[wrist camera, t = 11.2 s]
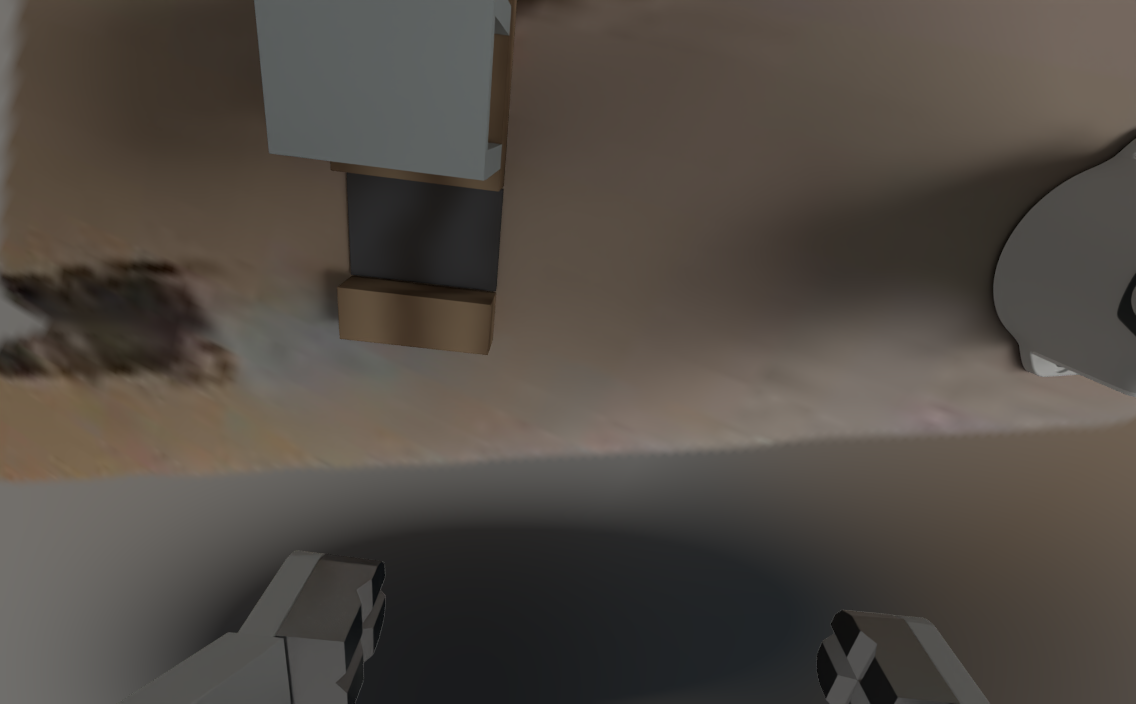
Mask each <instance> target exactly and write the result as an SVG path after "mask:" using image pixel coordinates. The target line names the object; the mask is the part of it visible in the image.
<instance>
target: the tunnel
mask: <svg viewBox="0 0 1136 704" xmlns="http://www.w3.org/2000/svg"><path fill="white" fill-rule="evenodd" d="M254 3H255V14H256V24H257V34H258V44H259V55H260V65H261V75H262V86H263V96H264V106H265V117H266V127H267V137H268V148H269V153H270V154H278V155H286V156H294V157H302V158H310V159H318V160H325V161H333V162H341V163H349V164H357V165H365V166H373V167H380V168H388V169H396V170H404V171H412V172H420V173H427V174H435V175H443V176H451V177H459V178H467V179H475V180H482V181H484V180H486V179H488V178H489V177H490V176H492V175H493V174H494V173H495V172H497V171H498V170H499V169H500V165H501V151H502V144H495V143H488V133H489V116H490V98H491V81H492V64H493V47H494V34H501V35H508V36H509V33H510V19H511V5H510V3H509V1H508V0H254Z"/></svg>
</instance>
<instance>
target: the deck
mask: <svg viewBox="0 0 1136 704" xmlns="http://www.w3.org/2000/svg"><path fill="white" fill-rule="evenodd" d="M508 1H509V3H510V5H511V19H510V33H509V36H508V35H501V34H494V47H493V64H492V81H491V98H490V116H489V133H488V143H495V144H502V151H501V165H500V169H499V170H498V171H497V172H495V173H494V174H493V175H492V176H490V177H489V178H488V179H486V180H484V181H482V180H475V179H467V178H459V177H451V176H443V175H435V174H427V173H420V172H412V171H404V170H396V169H388V168H380V167H373V166H365V165H357V164H349V163H341V162H333V161H330V164H331V170H332V171H340V172H347V192H348V215H349V239H350V263H351V274H352V275H360V276H369V277H378V278H386V279H395V280H403V281H412V282H420V283H429V284H437V285H446V286H455V287H463V288H472V289H480V290H489V291H496V286H497V272H498V258H499V244H500V230H501V216H502V202H503V189H502V187H503V186H504V174H505V160H506V146H507V132H508V118H509V104H510V90H511V76H512V62H513V48H514V34H515V20H516V6H517V0H508ZM337 295H338V314H339V332H340V339H347V340H356V341H365V342H374V343H383V344H392V345H401V346H410V347H419V348H428V349H437V350H446V351H455V352H464V353H473V354H482V355H488V352H489V349H490V346H491V343H492V340H493V328H494V314H495V300H496V293H495V292H486V291H478V290H469V289H461V288H452V287H444V286H435V285H427V284H418V283H409V282H401V281H392V280H384V279H375V278H367V277H358V276H352V277H350V278H349V279H348V280H346V281H345V282H344V283H342V284H341V285H340V286H338V287H337Z"/></svg>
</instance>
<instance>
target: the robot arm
mask: <svg viewBox="0 0 1136 704" xmlns="http://www.w3.org/2000/svg"><path fill="white" fill-rule="evenodd" d="M993 296H994V303H995V308H996V311H997V314H998V316H999V318H1000V320H1001V322H1002V324H1003V325H1004V326H1005V328H1006V329H1007V330H1008V331H1009V332H1010V333H1011V334H1012V336H1013V337H1014V338H1015V339H1016V341H1017V342H1018V344H1019V349H1020V355H1021V360H1022V364H1023V367H1024V368H1025V370H1026V371H1028V372H1030V373H1033V374H1035V375H1038V376H1041V377H1049V376H1065V375H1081V376H1084V377H1086V378H1088V379H1091V380H1093V381H1095V382H1098V383H1100V384H1102V385H1105V386H1107V387H1109V388H1112V389H1114V390H1116V391H1119V392H1121V393H1123V394H1126V395H1129V396H1133V397H1136V139H1134V140H1133V141H1132V142H1131V143H1129V144H1128V145H1127V146H1126V147H1125V148H1124V149H1122V150H1121V151H1120V152H1119V153H1118V154H1117V155H1116V156H1114V157H1113V158H1111V159H1110V160H1108V161H1106V162H1104V163H1102V164H1100V165H1098V166H1096V167H1093V168H1091V169H1089V170H1086V171H1084V172H1082V173H1080V174H1078V175H1076V176H1074V177H1072V178H1070V179H1069V180H1067V181H1065V182H1064V183H1062V184H1061V185H1059V186H1058V187H1056V188H1055V189H1054V190H1052V191H1051V192H1050V193H1048V194H1047V195H1046V196H1045V197H1043V198H1042V199H1041V200H1040V201H1039V202H1038V203H1037V204H1036V205H1035V206H1034V207H1033V208H1032V209H1031V210H1030V211H1029V212H1028V213H1027V214H1026V215H1025V216H1024V218H1023V219H1022V220H1021V221H1020V223H1019V224H1018V225H1017V227H1016V228H1015V230H1014V231H1013V233H1012V234H1011V236H1010V237H1009V239H1008V241H1007V243H1006V245H1005V247H1004V249H1003V251H1002V253H1001V256H1000V258H999V261H998V264H997V268H996V271H995V277H994V284H993ZM384 579H385V563H384V562H382V561H376V560H369V559H361V558H354V557H347V556H339V555H331V554H321V553H313V552H304V551H298V550H296V551H295V552H293V553H292V554H291V555H290V556H288V557H287V559H286V560H285V562H284V563H283V565H282V566H281V568H280V569H279V571H278V572H277V574H276V575H275V577H274V578H273V580H272V581H271V583H270V585H269V586H268V588H267V589H266V591H265V592H264V594H263V595H262V597H261V598H260V600H259V601H258V603H257V604H256V606H255V607H254V609H253V610H252V612H251V613H250V615H249V617H248V618H247V620H246V621H245V623H244V624H243V626H242V627H241V629H240V631H239V632H238V633H227V634H225V635H224V636H222V637H220V638H219V639H217V640H216V641H214V642H212V643H211V644H209V645H208V646H206V647H205V648H203V649H202V650H200V651H198V652H197V653H195V654H194V655H192V656H191V657H189V658H187V659H186V660H184V661H183V662H181V663H180V664H178V665H177V666H175V667H173V668H172V669H170V670H169V671H167V672H166V673H164V674H163V675H161V676H159V677H158V678H156V679H155V680H153V681H152V682H150V683H149V684H147V685H146V686H144V687H143V688H141V689H139V690H138V691H136V692H135V693H133V694H131V695H130V696H128V697H127V698H125V699H124V700H122V701H121V702H119V703H117V704H355V702H356V699H357V697H358V694H359V691H360V689H361V686H362V683H363V681H364V665H363V664H364V663H363V662H365V661H366V660H367V659H368V658H369V657H371V656H372V655H373V654H374V651H375V648H376V646H377V643H378V640H379V637H380V632H381V629H382V625H383V620H384V613H385V595H384V594H383V592H382V591H381V590H380V589H381V587H382V584H383V581H384ZM831 627H832V629H833V631H834V634H833V635H831V636H830V637H828V638H827V639H825V640H824V641H822V643H821V646H820V648H819V650H818V653H817V675H818V679H819V684H820V686H821V689H822V691H823V694H824V696H825V698H826V700H827V701H828V702H829V703H830V704H990V703H989V702H988V700H987V699H986V697H985V696H984V695H983V693H982V692H981V690H980V689H979V688H978V686H977V685H976V683H975V682H974V681H973V679H972V678H971V676H970V675H969V674H968V672H967V671H966V669H965V668H964V667H963V665H962V664H961V662H960V661H959V660H958V658H957V657H956V655H955V654H954V653H953V651H952V650H951V648H950V647H949V646H948V644H947V643H946V641H945V640H944V639H943V637H942V636H941V634H940V633H939V631H938V630H937V629H936V628H935V626H934V625H933V624H932V623H931V622H929V621H928V620H927V619H925V618H919V617H909V616H898V615H896V616H894V615H891V614H881V613H870V612H859V611H849V610H841V611H839V612H838V613H836V614H835V616H834V618H833V620H832V622H831Z"/></svg>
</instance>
